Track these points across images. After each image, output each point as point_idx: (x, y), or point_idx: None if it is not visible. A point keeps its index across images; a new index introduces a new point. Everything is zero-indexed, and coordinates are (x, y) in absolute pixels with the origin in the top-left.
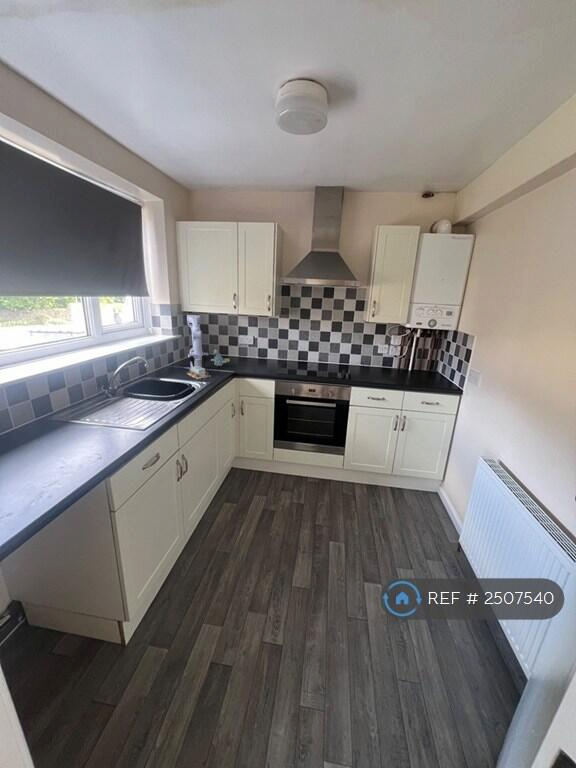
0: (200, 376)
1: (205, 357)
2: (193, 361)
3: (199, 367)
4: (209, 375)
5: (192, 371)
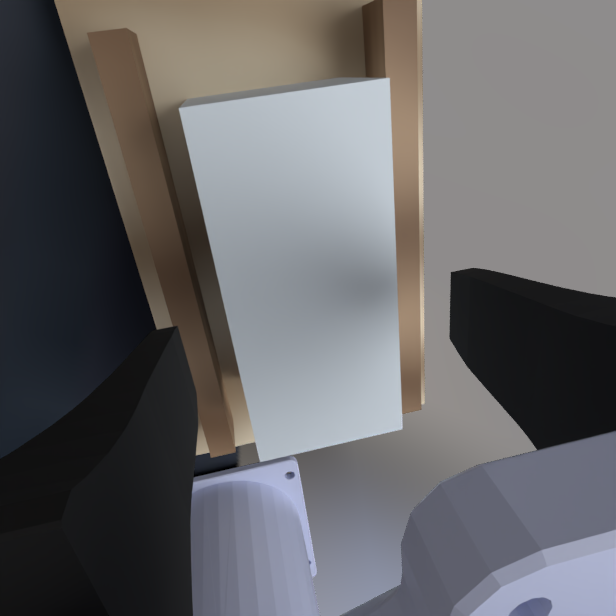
0: (309, 55)
1: (7, 492)
2: (610, 307)
3: (281, 340)
4: (88, 59)
5: None
